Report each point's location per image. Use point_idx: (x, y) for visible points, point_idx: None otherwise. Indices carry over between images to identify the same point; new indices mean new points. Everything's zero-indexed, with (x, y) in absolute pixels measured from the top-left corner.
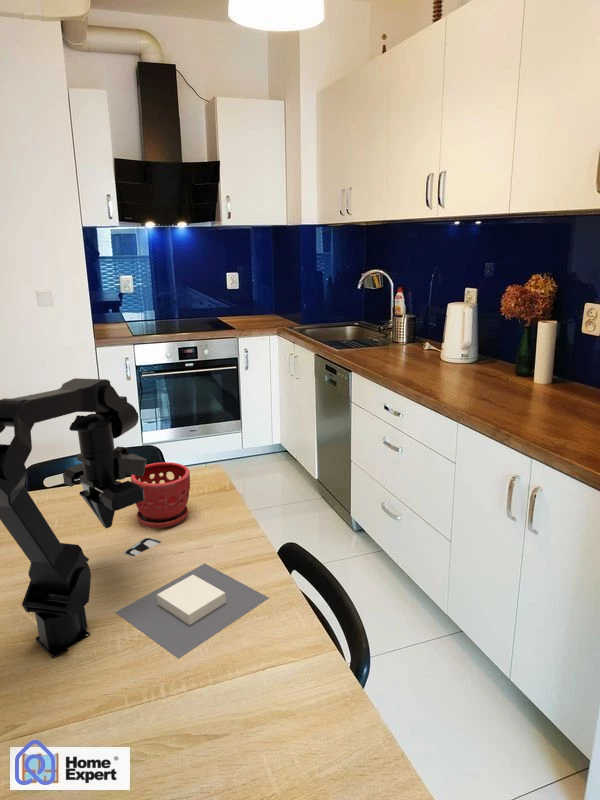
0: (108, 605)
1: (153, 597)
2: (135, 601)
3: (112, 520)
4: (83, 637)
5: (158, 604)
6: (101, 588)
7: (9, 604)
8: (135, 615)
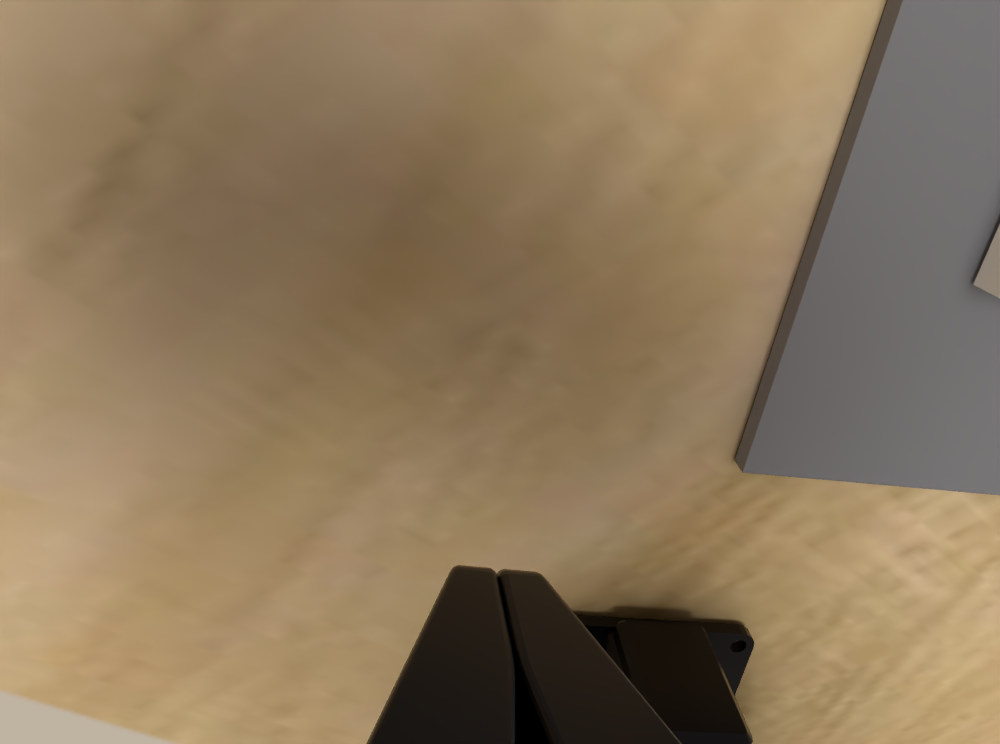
0: (617, 425)
1: (886, 237)
2: (790, 336)
3: (615, 670)
4: (734, 662)
5: (981, 286)
6: (409, 334)
7: (82, 703)
8: (886, 429)
